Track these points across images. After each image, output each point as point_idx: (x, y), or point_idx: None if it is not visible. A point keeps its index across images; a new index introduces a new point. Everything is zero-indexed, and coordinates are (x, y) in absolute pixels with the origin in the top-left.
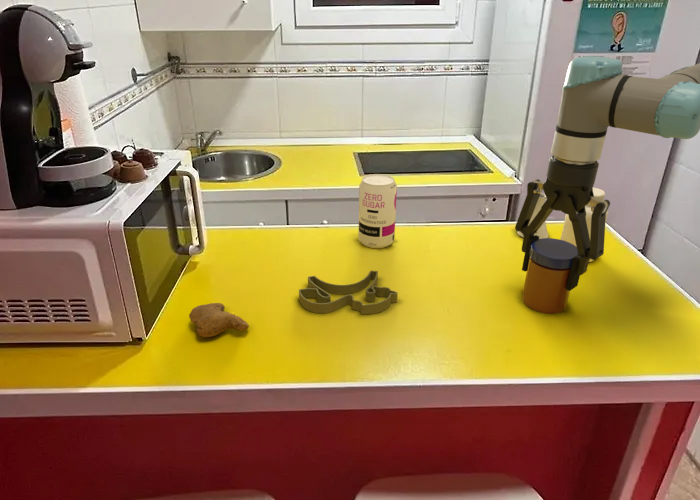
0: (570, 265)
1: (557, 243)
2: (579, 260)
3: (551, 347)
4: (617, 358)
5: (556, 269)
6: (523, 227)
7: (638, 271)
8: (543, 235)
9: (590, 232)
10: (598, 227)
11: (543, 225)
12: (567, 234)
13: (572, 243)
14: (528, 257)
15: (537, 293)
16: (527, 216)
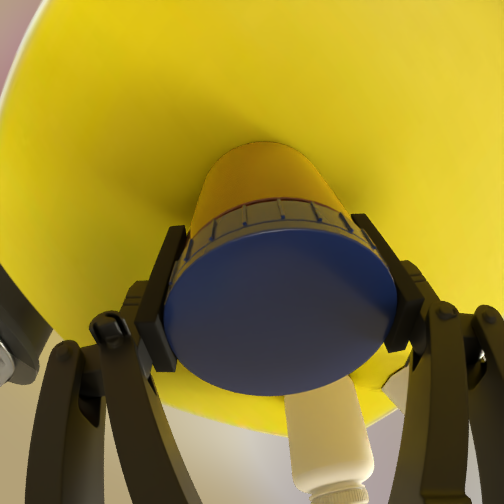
0: (169, 287)
1: (302, 368)
2: (108, 311)
3: (114, 46)
4: (27, 155)
5: None
6: (472, 336)
7: (216, 407)
8: (390, 387)
9: (303, 439)
10: (25, 498)
11: (399, 402)
12: (345, 413)
13: (327, 402)
14: None
15: (256, 157)
16: (492, 392)
